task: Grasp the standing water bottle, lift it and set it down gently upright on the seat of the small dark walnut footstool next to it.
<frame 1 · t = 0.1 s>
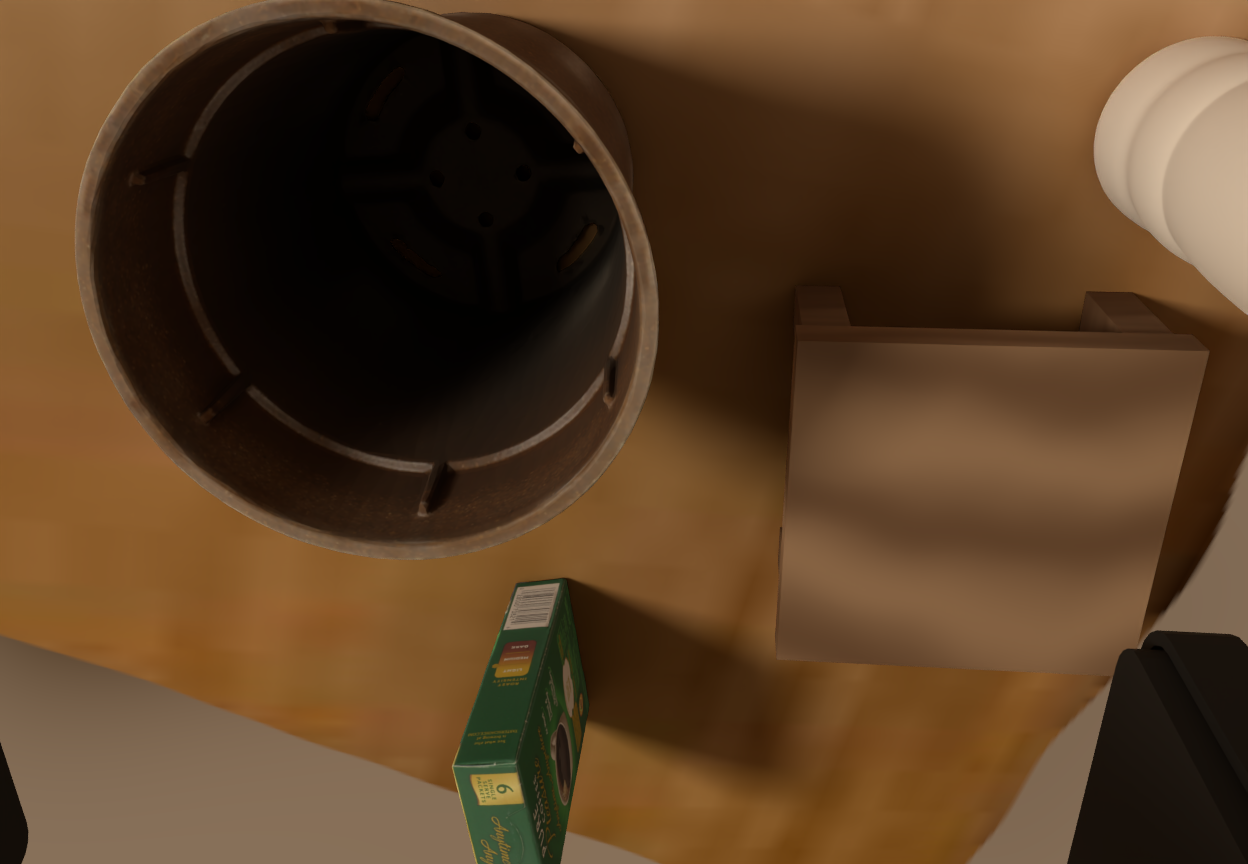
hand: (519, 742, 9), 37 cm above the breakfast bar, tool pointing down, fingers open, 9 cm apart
coffee box: (553, 638, 54), on the breakfast bar
plant pot: (483, 175, 44), on the breakfast bar
water bottle: (1184, 131, 41), on the breakfast bar
footstool: (942, 436, 47), on the breakfast bar
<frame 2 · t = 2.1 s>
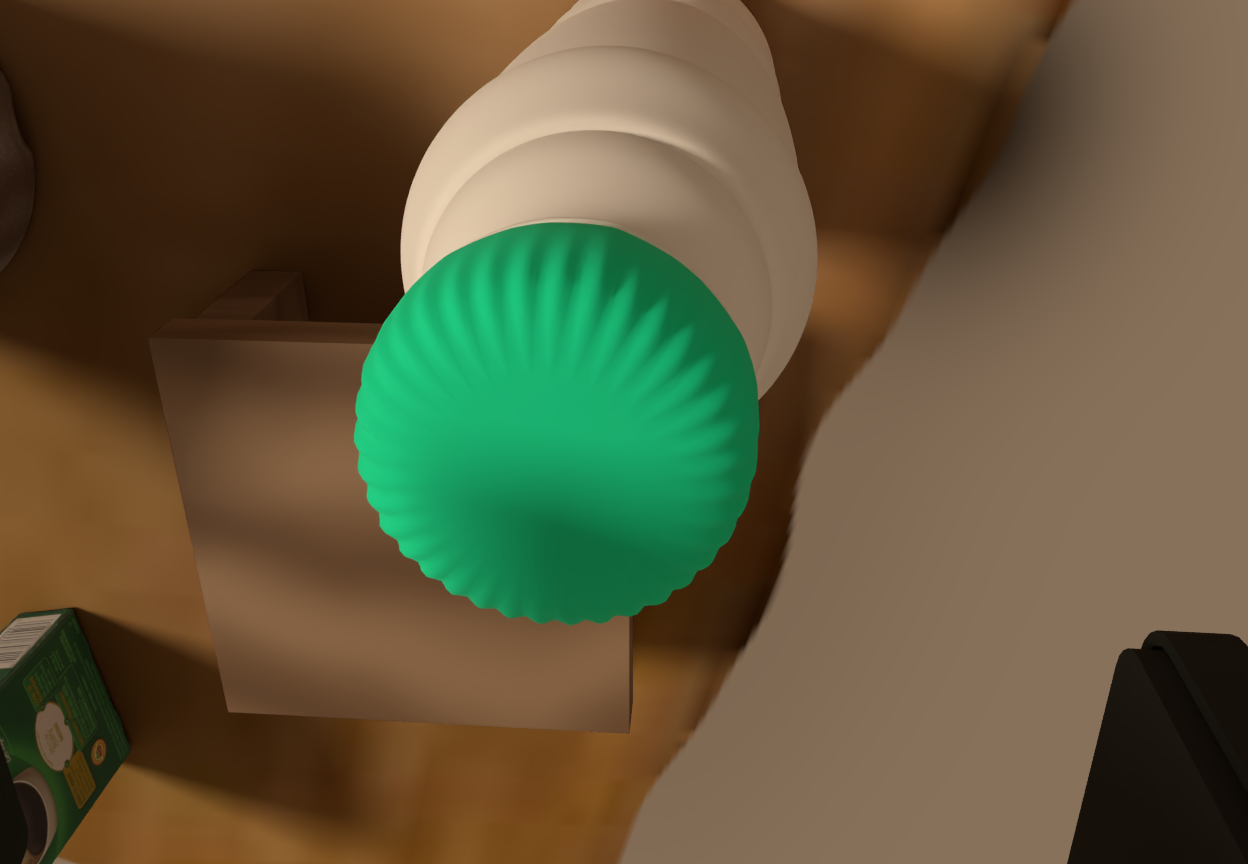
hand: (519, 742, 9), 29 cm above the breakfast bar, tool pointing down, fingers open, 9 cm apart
coffee box: (79, 675, 48), on the breakfast bar
water bottle: (660, 85, 34), on the breakfast bar
footstool: (455, 447, 41), on the breakfast bar
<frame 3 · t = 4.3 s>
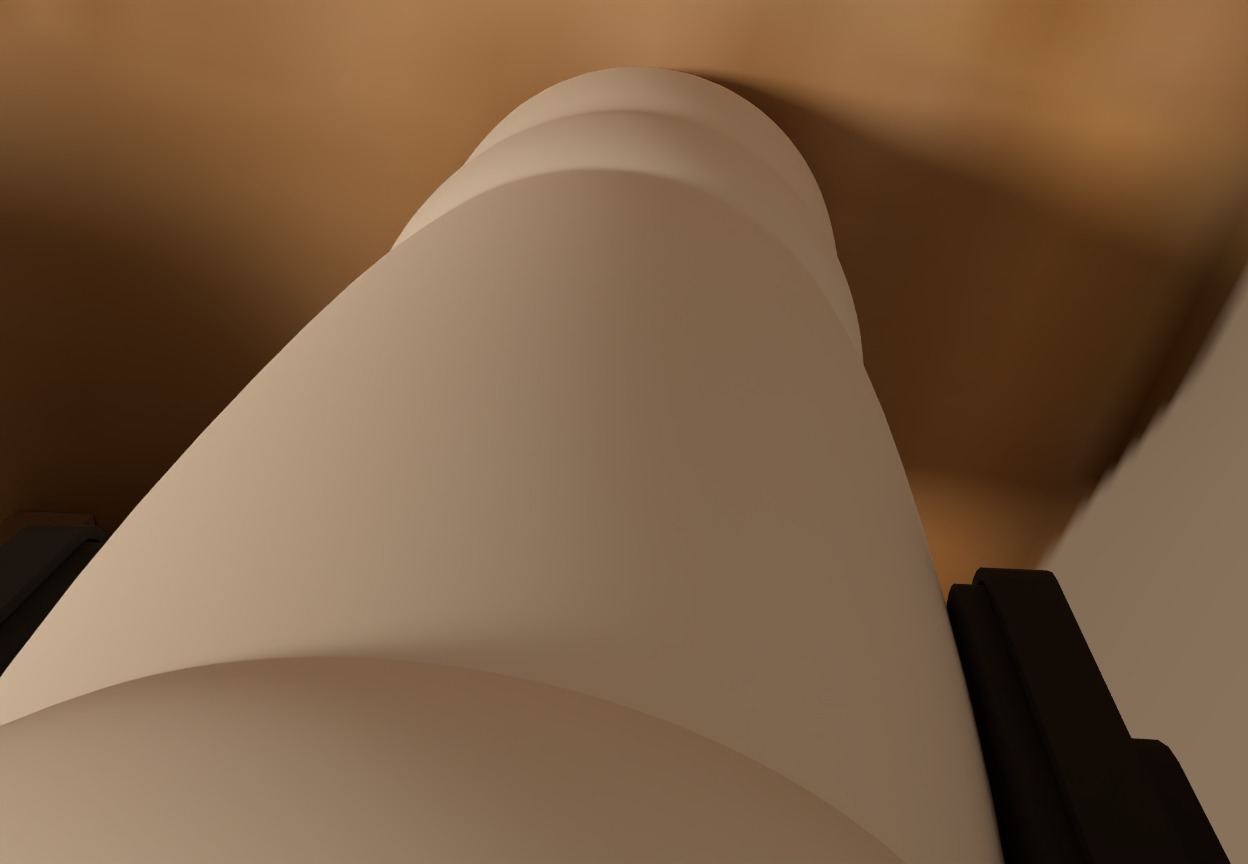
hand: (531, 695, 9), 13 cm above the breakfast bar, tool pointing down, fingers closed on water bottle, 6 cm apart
water bottle: (641, 251, 21), on the breakfast bar, touching gripper
footstool: (340, 755, 27), on the breakfast bar
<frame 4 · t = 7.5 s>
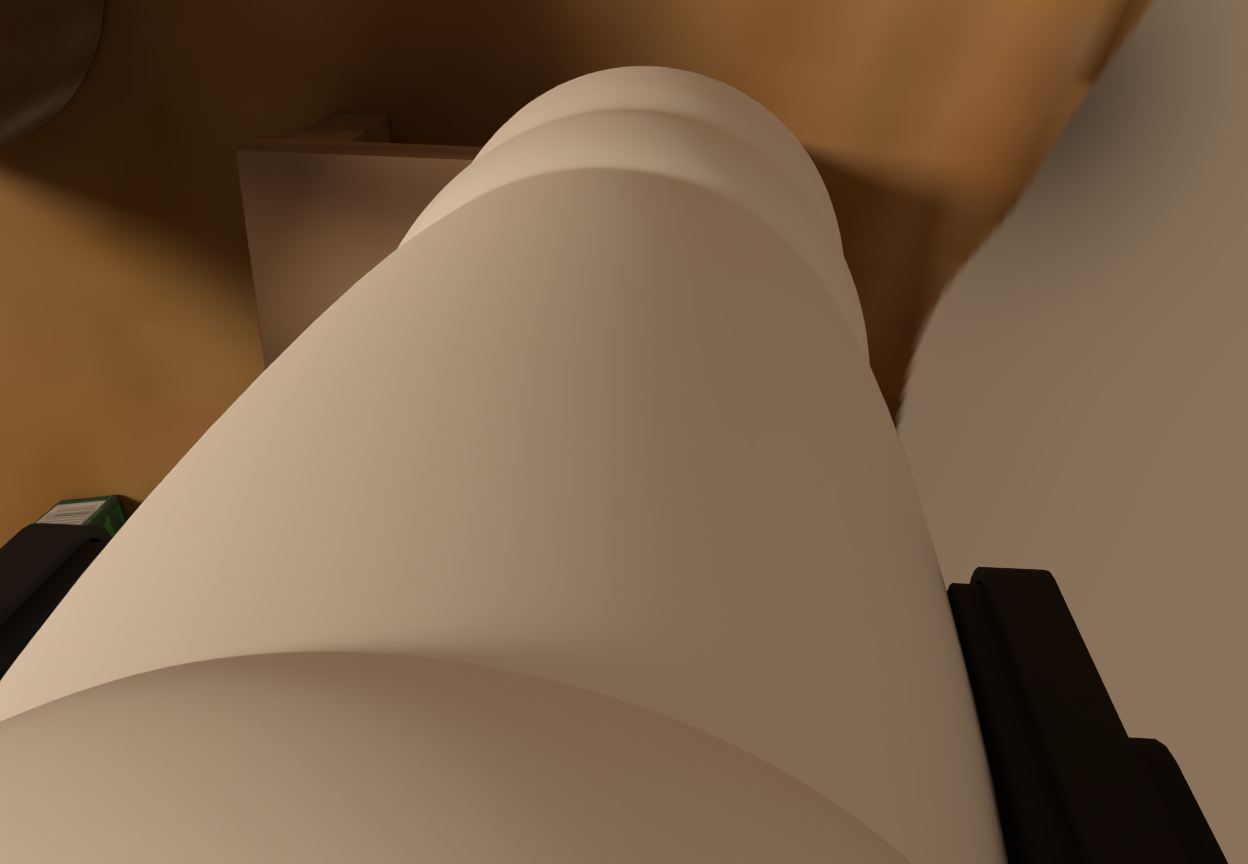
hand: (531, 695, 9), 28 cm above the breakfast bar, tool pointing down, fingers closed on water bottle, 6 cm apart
coffee box: (120, 572, 45), on the breakfast bar
water bottle: (648, 250, 21), point 15 cm above the breakfast bar, touching gripper
footstool: (542, 319, 38), on the breakfast bar
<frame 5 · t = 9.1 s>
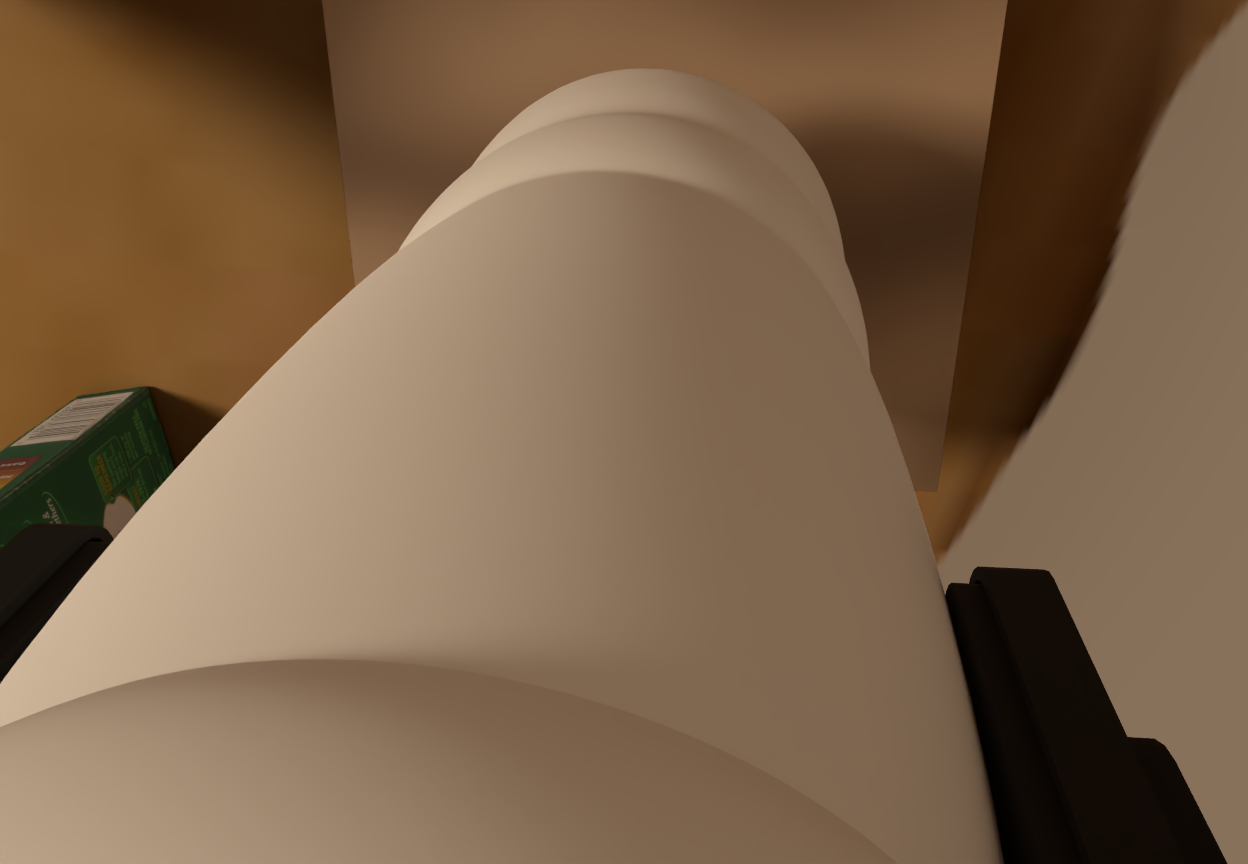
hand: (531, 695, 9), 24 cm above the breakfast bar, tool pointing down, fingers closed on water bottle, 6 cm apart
coffee box: (151, 485, 37), on the breakfast bar
water bottle: (649, 252, 21), point 11 cm above the breakfast bar, touching gripper
footstool: (670, 137, 30), on the breakfast bar
when the fingers open (21 cm above the breakfast bar, at t = 10.5 s): water bottle drops 2 cm, resting on footstool.
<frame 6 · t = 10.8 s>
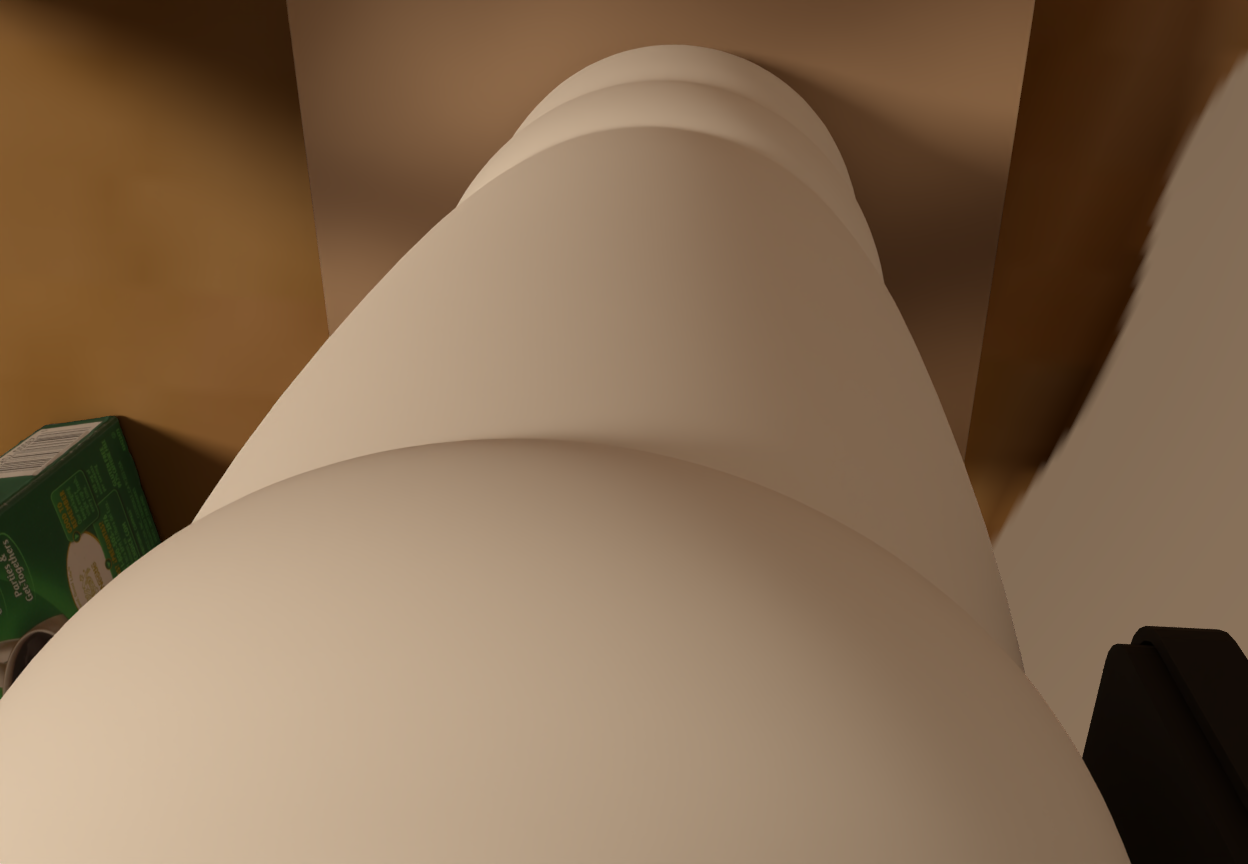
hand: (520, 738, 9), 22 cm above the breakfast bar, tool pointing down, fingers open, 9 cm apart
coffee box: (123, 517, 36), on the breakfast bar
water bottle: (674, 219, 22), point 7 cm above the breakfast bar, touching footstool
footstool: (666, 156, 29), on the breakfast bar
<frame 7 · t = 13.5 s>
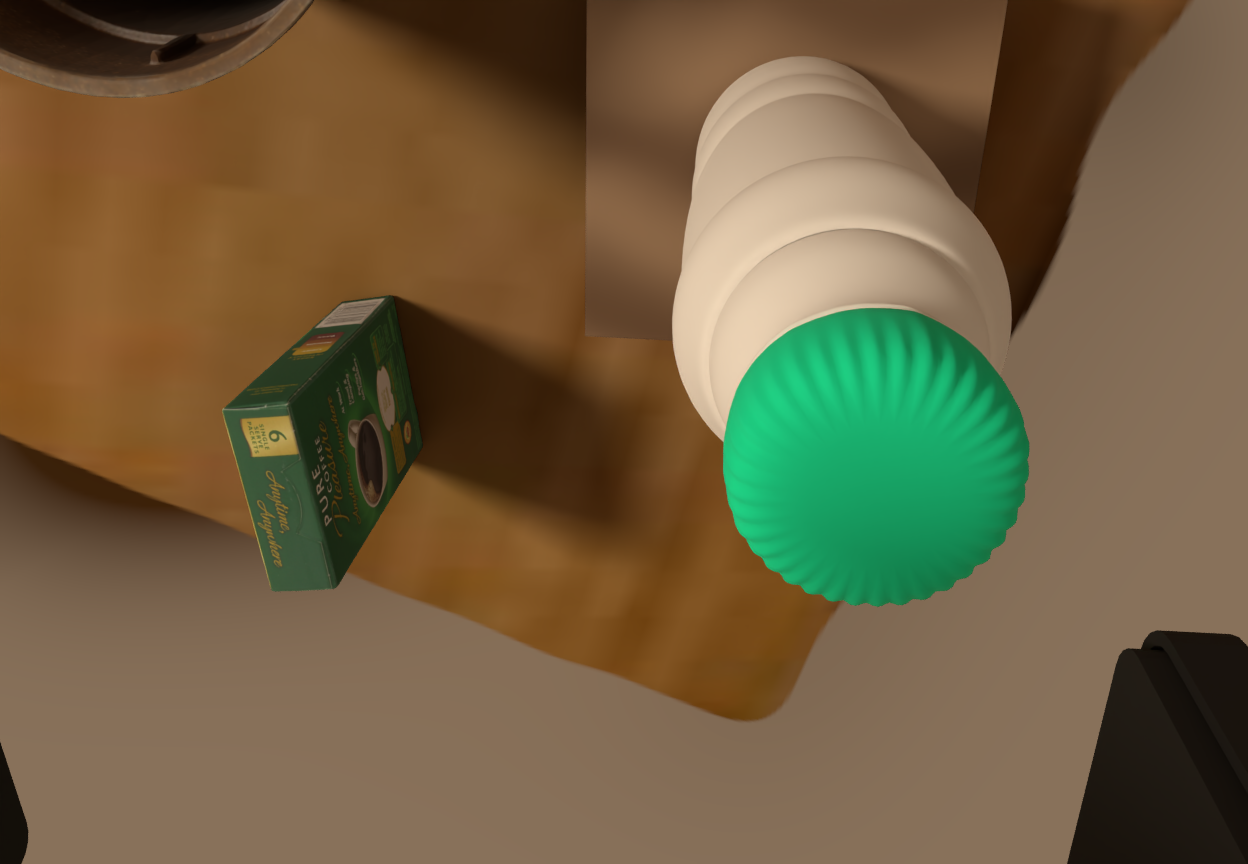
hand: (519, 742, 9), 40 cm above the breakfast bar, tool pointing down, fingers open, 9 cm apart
coffee box: (384, 369, 52), on the breakfast bar
water bottle: (795, 156, 39), point 7 cm above the breakfast bar, touching footstool
footstool: (774, 126, 45), on the breakfast bar
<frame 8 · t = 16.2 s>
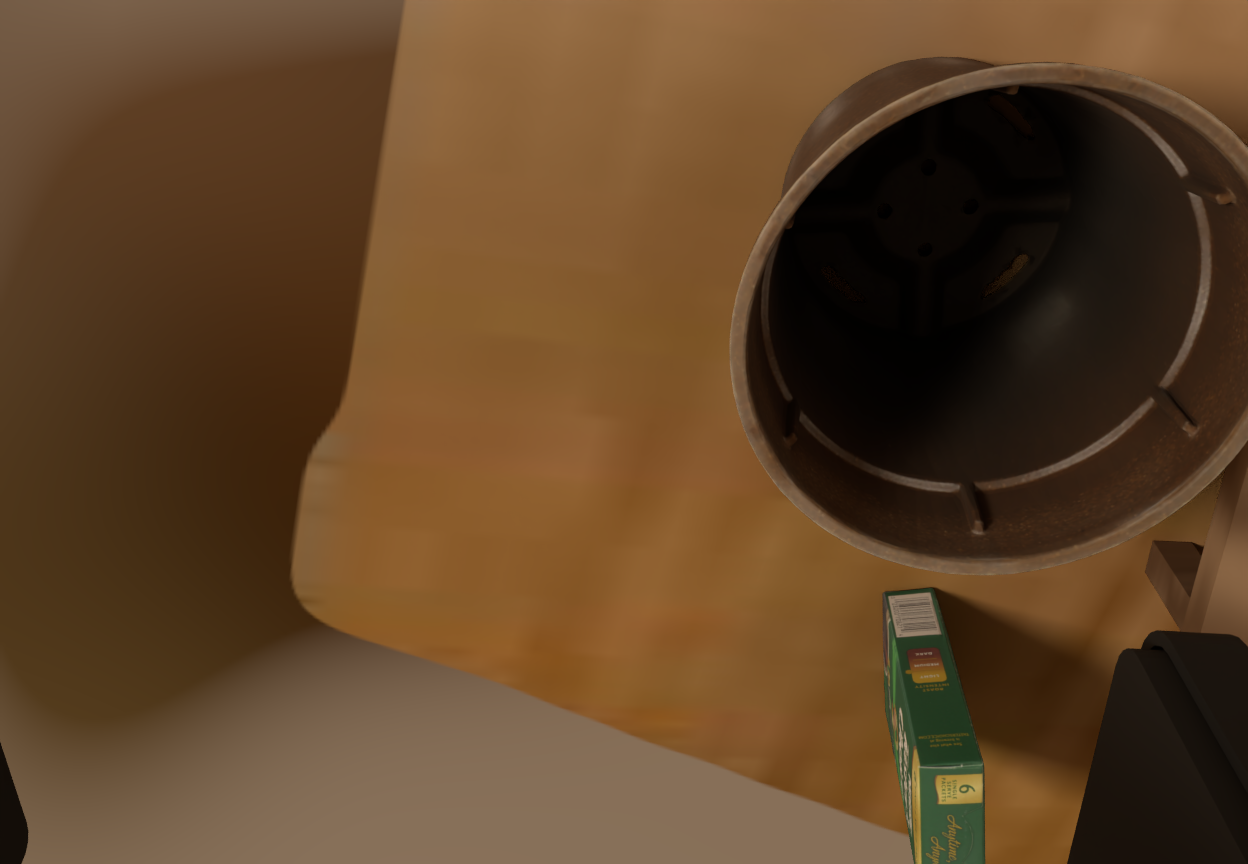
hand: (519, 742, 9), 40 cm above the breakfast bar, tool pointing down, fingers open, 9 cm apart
coffee box: (907, 645, 57), on the breakfast bar
plant pot: (920, 207, 47), on the breakfast bar
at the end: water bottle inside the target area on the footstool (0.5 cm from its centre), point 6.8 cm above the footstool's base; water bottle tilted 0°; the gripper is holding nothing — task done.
